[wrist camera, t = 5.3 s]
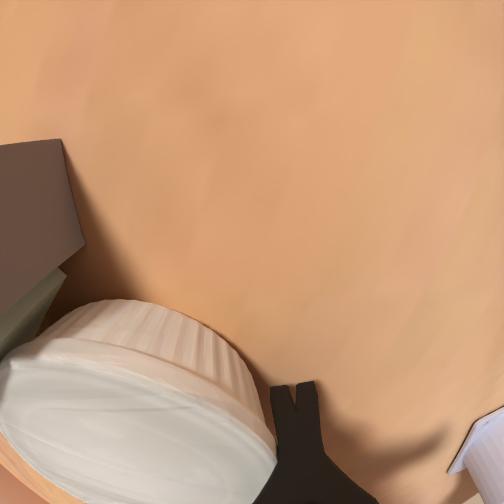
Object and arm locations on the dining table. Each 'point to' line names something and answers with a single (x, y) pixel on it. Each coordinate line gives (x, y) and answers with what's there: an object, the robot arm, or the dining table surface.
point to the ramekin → (136, 409)
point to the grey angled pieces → (34, 217)
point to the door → (29, 313)
